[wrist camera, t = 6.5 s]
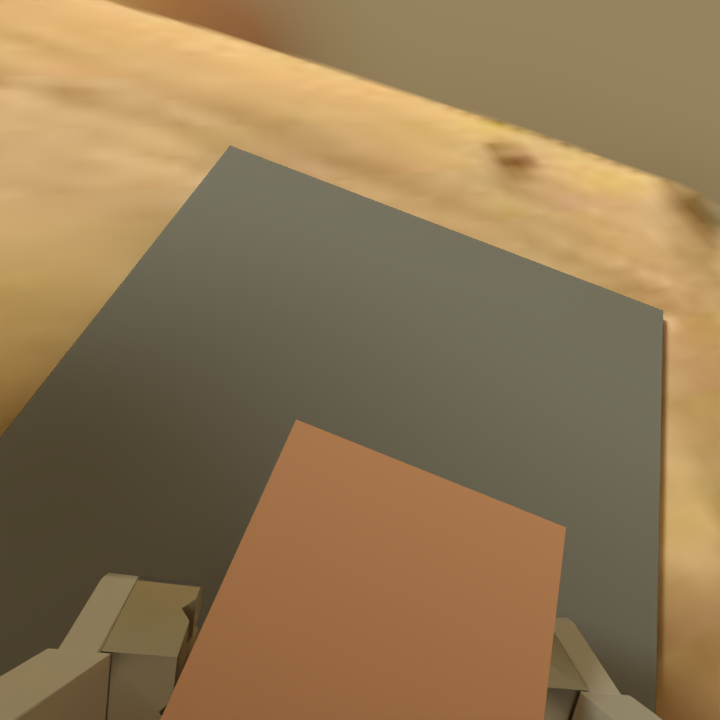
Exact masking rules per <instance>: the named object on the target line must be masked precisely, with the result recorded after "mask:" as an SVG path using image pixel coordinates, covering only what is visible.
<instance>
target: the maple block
mask: <svg viewBox="0 0 720 720" xmlns="http://www.w3.org/2000/svg"><path fill="white" fill-rule="evenodd" d="M565 533H566V527H564V526H561V525H559V524H556V523H554V522H551V521H549V520H546V519H544V518H541V517H539V516H536V515H534V514H531V513H529V512H526V511H524V510H521V509H519V508H516V507H514V506H511V505H509V504H506V503H504V502H501V501H499V500H496V499H494V498H491V497H489V496H486V495H484V494H481V493H479V492H476V491H474V490H471V489H469V488H466V487H464V486H461V485H459V484H456V483H454V482H451V481H449V480H446V479H444V478H441V477H439V476H436V475H434V474H431V473H429V472H426V471H424V470H421V469H419V468H416V467H414V466H411V465H409V464H406V463H404V462H401V461H399V460H396V459H394V458H391V457H389V456H386V455H384V454H381V453H379V452H376V451H374V450H371V449H369V448H366V447H364V446H361V445H359V444H356V443H354V442H351V441H349V440H347V439H344V438H341V437H339V436H337V435H334V434H332V433H329V432H327V431H324V430H322V429H319V428H317V427H314V426H312V425H309V424H307V423H304V422H302V421H299V420H297V419H296V421H295V423H294V425H293V428H292V430H291V432H290V434H289V436H288V439H287V441H286V443H285V445H284V447H283V450H282V452H281V454H280V456H279V458H278V461H277V463H276V465H275V467H274V470H273V472H272V474H271V476H270V478H269V481H268V483H267V485H266V487H265V489H264V492H263V494H262V496H261V498H260V500H259V503H258V505H257V507H256V509H255V511H254V514H253V516H252V518H251V520H250V523H249V525H248V527H247V529H246V531H245V534H244V536H243V538H242V540H241V542H240V545H239V547H238V549H237V551H236V553H235V556H234V558H233V560H232V562H231V564H230V567H229V569H228V571H227V573H226V576H225V578H224V580H223V582H222V584H221V587H220V589H219V591H218V593H217V595H216V598H215V600H214V602H213V604H212V606H211V609H210V611H209V613H208V615H207V617H206V620H205V622H204V624H203V626H202V628H201V631H200V633H199V635H198V637H197V640H196V642H195V644H194V646H193V648H192V651H191V653H190V655H189V657H188V659H187V662H186V664H185V666H184V668H183V670H182V673H181V675H180V677H179V679H178V681H177V684H176V686H175V688H174V690H173V693H172V695H171V697H170V699H169V701H168V704H167V706H166V708H165V710H164V712H163V715H162V717H161V719H160V720H544V714H545V705H546V696H547V688H548V679H549V671H550V662H551V653H552V645H553V636H554V627H555V619H556V610H557V602H558V593H559V584H560V576H561V567H562V558H563V550H564V541H565Z"/></svg>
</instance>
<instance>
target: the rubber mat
mask: <svg viewBox="0 0 720 720" xmlns="http://www.w3.org/2000/svg"><path fill="white" fill-rule="evenodd" d="M662 343H663V310H660V309H657V308H655V307H652V306H649V305H647V304H644V303H642V302H639V301H636V300H634V299H631V298H628V297H626V296H623V295H621V294H618V293H615V292H613V291H610V290H607V289H605V288H602V287H600V286H597V285H594V284H592V283H589V282H586V281H584V280H581V279H579V278H576V277H573V276H571V275H568V274H565V273H563V272H560V271H558V270H555V269H552V268H550V267H547V266H545V265H542V264H539V263H537V262H534V261H531V260H529V259H526V258H524V257H521V256H518V255H516V254H513V253H510V252H508V251H505V250H503V249H500V248H497V247H495V246H492V245H489V244H487V243H484V242H482V241H479V240H476V239H474V238H471V237H468V236H466V235H463V234H461V233H458V232H455V231H453V230H450V229H447V228H445V227H442V226H440V225H437V224H434V223H432V222H429V221H426V220H424V219H421V218H419V217H416V216H413V215H411V214H408V213H405V212H403V211H400V210H398V209H395V208H392V207H390V206H387V205H385V204H382V203H379V202H377V201H374V200H371V199H369V198H366V197H364V196H361V195H358V194H356V193H353V192H350V191H348V190H345V189H343V188H340V187H337V186H335V185H332V184H329V183H327V182H324V181H322V180H319V179H316V178H314V177H311V176H308V175H306V174H303V173H301V172H298V171H295V170H293V169H290V168H287V167H285V166H282V165H280V164H277V163H274V162H272V161H269V160H266V159H264V158H261V157H259V156H256V155H253V154H251V153H248V152H245V151H243V150H240V149H238V148H235V147H232V146H229V148H228V149H227V150H226V152H225V153H224V154H223V155H222V157H221V158H220V159H219V160H218V162H217V163H216V164H215V166H214V167H213V168H212V169H211V171H210V172H209V173H208V174H207V176H206V177H205V178H204V179H203V181H202V182H201V183H200V185H199V186H198V187H197V188H196V190H195V191H194V192H193V193H192V195H191V196H190V197H189V199H188V200H187V201H186V202H185V204H184V205H183V206H182V207H181V209H180V210H179V211H178V212H177V214H176V215H175V216H174V218H173V219H172V220H171V221H170V223H169V224H168V225H167V226H166V228H165V229H164V230H163V232H162V233H161V234H160V235H159V237H158V238H157V239H156V240H155V242H154V243H153V244H152V246H151V247H150V248H149V249H148V251H147V252H146V253H145V254H144V256H143V257H142V258H141V259H140V261H139V262H138V263H137V265H136V266H135V267H134V268H133V270H132V271H131V272H130V273H129V275H128V276H127V277H126V279H125V280H124V281H123V282H122V284H121V285H120V286H119V287H118V289H117V290H116V291H115V292H114V294H113V295H112V296H111V298H110V299H109V300H108V301H107V303H106V304H105V305H104V306H103V308H102V309H101V310H100V312H99V313H98V314H97V315H96V317H95V318H94V319H93V320H92V322H91V323H90V324H89V326H88V327H87V328H86V329H85V331H84V332H83V333H82V334H81V336H80V337H79V338H78V339H77V341H76V342H75V343H74V345H73V346H72V347H71V348H70V350H69V351H68V352H67V353H66V355H65V356H64V357H63V359H62V360H61V361H60V362H59V364H58V365H57V366H56V367H55V369H54V370H53V371H52V372H51V374H50V375H49V376H48V378H47V379H46V380H45V381H44V383H43V384H42V385H41V386H40V388H39V389H38V390H37V392H36V393H35V394H34V395H33V397H32V398H31V399H30V400H29V402H28V403H27V404H26V406H25V407H24V408H23V409H22V411H21V412H20V413H19V414H18V416H17V417H16V418H15V419H14V421H13V422H12V423H11V425H10V426H9V427H8V428H7V430H6V431H5V432H4V433H3V435H2V436H1V437H0V676H2V675H4V674H5V673H7V672H9V671H10V670H12V669H14V668H16V667H17V666H19V665H21V664H22V663H24V662H26V661H27V660H29V659H31V658H32V657H34V656H36V655H37V654H39V653H41V652H43V651H44V650H46V649H48V648H49V649H59V647H60V646H61V644H62V642H63V641H64V639H65V637H66V636H67V634H68V632H69V631H70V629H71V628H72V626H73V624H74V623H75V621H76V619H77V618H78V616H79V614H80V613H81V611H82V610H83V608H84V606H85V605H86V603H87V601H88V600H89V598H90V597H91V595H92V593H93V592H94V590H95V588H96V587H97V585H98V583H99V582H100V580H101V579H102V578H103V577H104V576H105V575H107V574H108V573H113V574H123V575H132V576H138V577H141V576H143V577H151V578H159V579H168V580H176V581H184V582H192V583H201V584H202V585H203V591H202V601H201V608H200V611H199V615H198V618H197V621H196V627H197V628H198V634H197V637H198V635H199V633H200V631H201V628H202V626H203V624H204V622H205V620H206V617H207V615H208V613H209V611H210V609H211V606H212V604H213V602H214V600H215V598H216V595H217V593H218V591H219V589H220V587H221V584H222V582H223V580H224V578H225V576H226V573H227V571H228V569H229V567H230V564H231V562H232V560H233V558H234V556H235V553H236V551H237V549H238V547H239V545H240V542H241V540H242V538H243V536H244V534H245V531H246V529H247V527H248V525H249V523H250V520H251V518H252V516H253V514H254V511H255V509H256V507H257V505H258V503H259V500H260V498H261V496H262V494H263V492H264V489H265V487H266V485H267V483H268V481H269V478H270V476H271V474H272V472H273V470H274V467H275V465H276V463H277V461H278V458H279V456H280V454H281V452H282V450H283V447H284V445H285V443H286V441H287V439H288V436H289V434H290V432H291V430H292V428H293V425H294V423H295V421H296V419H297V420H299V421H302V422H304V423H307V424H309V425H312V426H314V427H317V428H319V429H322V430H324V431H327V432H329V433H332V434H334V435H337V436H339V437H341V438H344V439H347V440H349V441H351V442H354V443H356V444H359V445H361V446H364V447H366V448H369V449H371V450H374V451H376V452H379V453H381V454H384V455H386V456H389V457H391V458H394V459H396V460H399V461H401V462H404V463H406V464H409V465H411V466H414V467H416V468H419V469H421V470H424V471H426V472H429V473H431V474H434V475H436V476H439V477H441V478H444V479H446V480H449V481H451V482H454V483H456V484H459V485H461V486H464V487H466V488H469V489H471V490H474V491H476V492H479V493H481V494H484V495H486V496H489V497H491V498H494V499H496V500H499V501H501V502H504V503H506V504H509V505H511V506H514V507H516V508H519V509H521V510H524V511H526V512H529V513H531V514H534V515H536V516H539V517H541V518H544V519H546V520H549V521H551V522H554V523H556V524H559V525H561V526H564V527H566V533H565V541H564V550H563V558H562V567H561V576H560V584H559V593H558V602H557V610H556V617H563V618H568V619H569V620H571V621H572V622H574V624H575V625H576V627H577V628H578V630H579V631H580V633H581V634H582V636H583V637H584V639H585V640H586V642H587V643H588V645H589V646H590V648H591V650H592V651H593V653H594V654H595V656H596V657H597V659H598V660H599V662H600V663H601V665H602V666H603V668H604V669H605V671H606V672H607V674H608V676H609V677H610V679H611V680H612V682H613V683H614V685H615V686H616V688H617V689H618V691H619V692H620V694H621V695H629V696H631V697H633V698H634V699H635V700H637V701H638V702H639V703H641V704H642V705H643V706H645V707H646V708H648V709H649V710H650V711H652V712H653V713H654V714H656V675H657V619H658V564H659V509H660V454H661V398H662Z"/></svg>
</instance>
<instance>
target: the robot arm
mask: <svg viewBox="0 0 720 720" xmlns="http://www.w3.org/2000/svg"><path fill="white" fill-rule="evenodd" d="M202 591H203V585H202V584H201V583H192V582H184V581H176V580H168V579H159V578H151V577H143V576H141V577H138V576H132V575H123V574H113V573H108V574H107V575H105V576H104V577H103V578H102V579H101V580H100V582H99V583H98V585H97V587H96V588H95V590H94V592H93V593H92V595H91V597H90V598H89V600H88V601H87V603H86V605H85V606H84V608H83V610H82V611H81V613H80V614H79V616H78V618H77V619H76V621H75V623H74V624H73V626H72V628H71V629H70V631H69V632H68V634H67V636H66V637H65V639H64V641H63V642H62V644H61V646H60V647H59V649H49V648H48V649H46V650H44V651H43V652H41V653H39V654H37V655H36V656H34V657H32V658H31V659H29V660H27V661H26V662H24V663H22V664H21V665H19V666H17V667H16V668H14V669H12V670H10V671H9V672H7V673H5V674H4V675H2V676H0V720H160V719H161V717H162V715H163V712H164V710H165V708H166V706H167V704H168V701H169V699H170V697H171V695H172V693H173V690H174V688H175V686H176V684H177V681H178V679H179V677H180V675H181V673H182V670H183V668H184V666H185V664H186V662H187V659H188V657H189V655H190V653H191V651H192V648H193V646H194V644H195V642H196V640H197V634H198V628H197V627H196V621H197V618H198V615H199V611H200V608H201V601H202ZM544 720H662V719H661V718H660V717H658V716H657V715H656V714H654V713H653V712H652V711H650V710H649V709H648V708H646V707H645V706H643V705H642V704H641V703H639V702H638V701H637V700H635V699H634V698H633V697H631V696H629V695H621V694H620V692H619V691H618V689H617V688H616V686H615V685H614V683H613V682H612V680H611V679H610V677H609V676H608V674H607V672H606V671H605V669H604V668H603V666H602V665H601V663H600V662H599V660H598V659H597V657H596V656H595V654H594V653H593V651H592V650H591V648H590V646H589V645H588V643H587V642H586V640H585V639H584V637H583V636H582V634H581V633H580V631H579V630H578V628H577V627H576V625H575V624H574V622H572V621H571V620H569V619H568V618H563V617H556V619H555V627H554V636H553V645H552V653H551V662H550V671H549V679H548V688H547V696H546V705H545V714H544Z"/></svg>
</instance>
